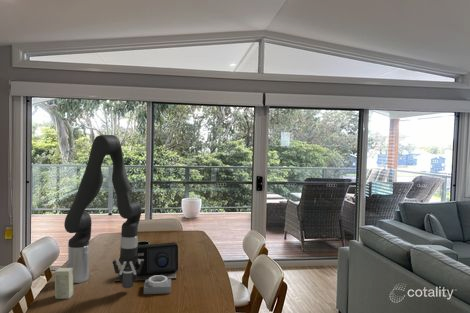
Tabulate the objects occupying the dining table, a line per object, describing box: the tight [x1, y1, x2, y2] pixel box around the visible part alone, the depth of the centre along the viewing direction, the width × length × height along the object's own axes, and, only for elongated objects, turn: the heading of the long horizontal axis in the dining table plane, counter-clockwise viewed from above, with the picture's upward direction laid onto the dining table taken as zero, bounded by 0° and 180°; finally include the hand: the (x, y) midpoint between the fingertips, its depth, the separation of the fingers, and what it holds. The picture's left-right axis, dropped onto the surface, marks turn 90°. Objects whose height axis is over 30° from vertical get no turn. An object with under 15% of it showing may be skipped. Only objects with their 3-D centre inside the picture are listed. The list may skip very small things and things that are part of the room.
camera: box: [135, 241, 179, 276], centre depth 180 cm, size 23×10×15 cm, turn 105°
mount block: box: [143, 274, 172, 295], centre depth 162 cm, size 12×9×5 cm
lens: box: [121, 268, 134, 289], centre depth 158 cm, size 5×5×8 cm
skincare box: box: [54, 267, 74, 300], centre depth 152 cm, size 6×4×12 cm
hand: (127, 281), depth 158 cm, fingers closed on lens, 4 cm apart
